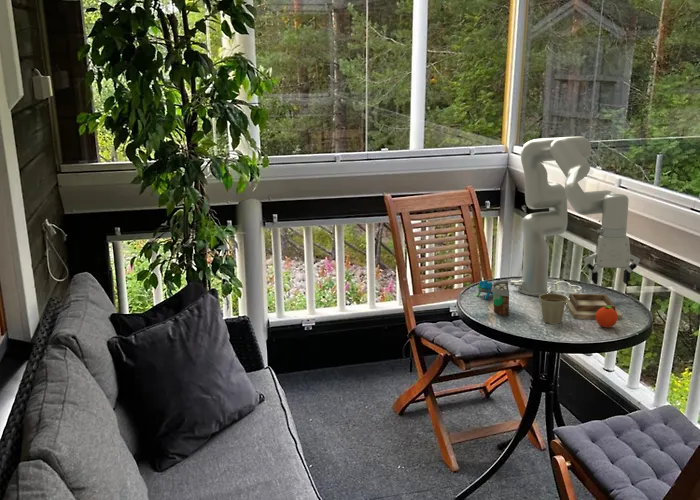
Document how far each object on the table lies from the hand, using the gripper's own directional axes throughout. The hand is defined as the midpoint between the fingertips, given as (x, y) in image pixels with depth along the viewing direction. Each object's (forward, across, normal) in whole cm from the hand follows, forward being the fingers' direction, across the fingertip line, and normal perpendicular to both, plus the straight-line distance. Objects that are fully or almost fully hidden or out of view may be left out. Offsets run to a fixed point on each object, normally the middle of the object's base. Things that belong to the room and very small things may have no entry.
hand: (610, 283), depth 205 cm
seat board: (+15, -1, +17) cm, 23 cm away
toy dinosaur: (+15, -36, +29) cm, 49 cm away
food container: (+15, -34, +13) cm, 40 cm away
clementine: (+16, 0, 0) cm, 16 cm away
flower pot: (+15, -17, +4) cm, 24 cm away
